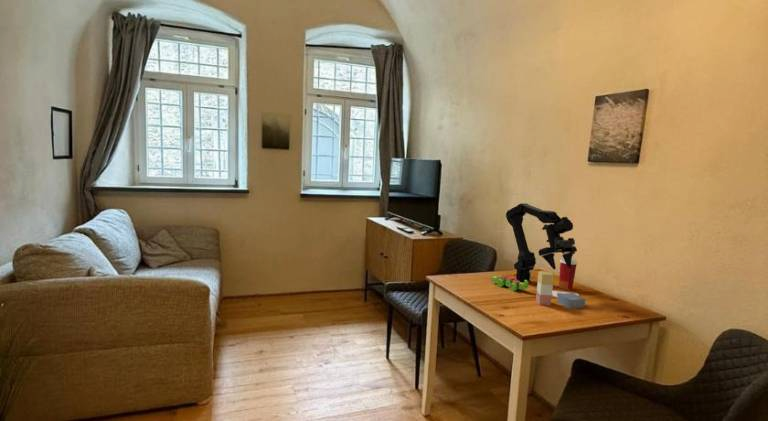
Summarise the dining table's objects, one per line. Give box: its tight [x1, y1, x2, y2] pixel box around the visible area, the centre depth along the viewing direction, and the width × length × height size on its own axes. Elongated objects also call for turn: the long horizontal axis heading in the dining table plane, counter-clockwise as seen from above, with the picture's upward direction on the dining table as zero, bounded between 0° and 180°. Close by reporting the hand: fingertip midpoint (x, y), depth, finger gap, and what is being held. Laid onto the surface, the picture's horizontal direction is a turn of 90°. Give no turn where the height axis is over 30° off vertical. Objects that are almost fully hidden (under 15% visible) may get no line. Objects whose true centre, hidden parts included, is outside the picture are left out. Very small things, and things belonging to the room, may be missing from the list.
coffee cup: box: [558, 257, 578, 291], centre depth 210 cm, size 8×8×15 cm
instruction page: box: [552, 290, 580, 298], centre depth 200 cm, size 12×9×1 cm
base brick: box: [556, 292, 586, 309], centre depth 188 cm, size 8×8×4 cm
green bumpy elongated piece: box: [490, 274, 530, 292], centre depth 208 cm, size 20×7×6 cm, turn 39°
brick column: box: [535, 270, 555, 306], centre depth 187 cm, size 5×5×14 cm
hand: (562, 268), depth 195 cm, fingers open, 9 cm apart
